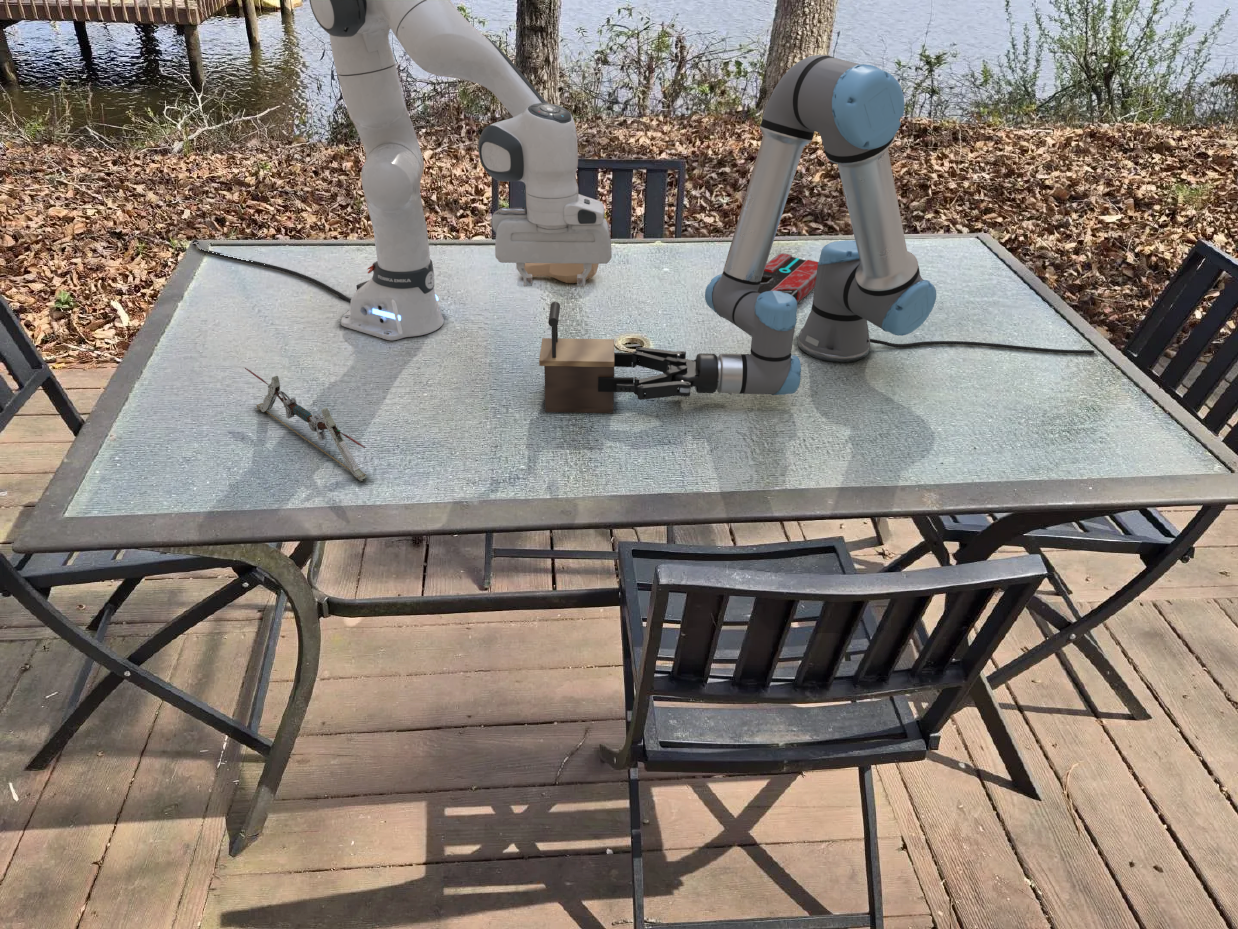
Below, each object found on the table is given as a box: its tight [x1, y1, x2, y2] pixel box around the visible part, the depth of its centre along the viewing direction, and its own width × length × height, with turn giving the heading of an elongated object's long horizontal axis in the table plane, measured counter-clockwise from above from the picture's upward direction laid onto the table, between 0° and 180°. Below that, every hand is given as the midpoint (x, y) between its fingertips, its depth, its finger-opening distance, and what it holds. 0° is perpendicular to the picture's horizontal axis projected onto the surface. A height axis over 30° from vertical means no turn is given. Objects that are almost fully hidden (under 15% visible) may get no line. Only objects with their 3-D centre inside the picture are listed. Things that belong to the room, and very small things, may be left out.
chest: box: [543, 366, 615, 414], centre depth 166 cm, size 13×9×10 cm
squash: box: [524, 263, 600, 284], centre depth 218 cm, size 11×20×9 cm, turn 90°
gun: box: [758, 252, 819, 304], centre depth 215 cm, size 4×31×19 cm
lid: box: [538, 301, 615, 368], centre depth 161 cm, size 14×9×9 cm
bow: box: [244, 367, 368, 482], centre depth 151 cm, size 39×2×10 cm, turn 47°
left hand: (554, 285), depth 156 cm, fingers open, 8 cm apart
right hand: (598, 371), depth 165 cm, fingers closed on chest, 9 cm apart
